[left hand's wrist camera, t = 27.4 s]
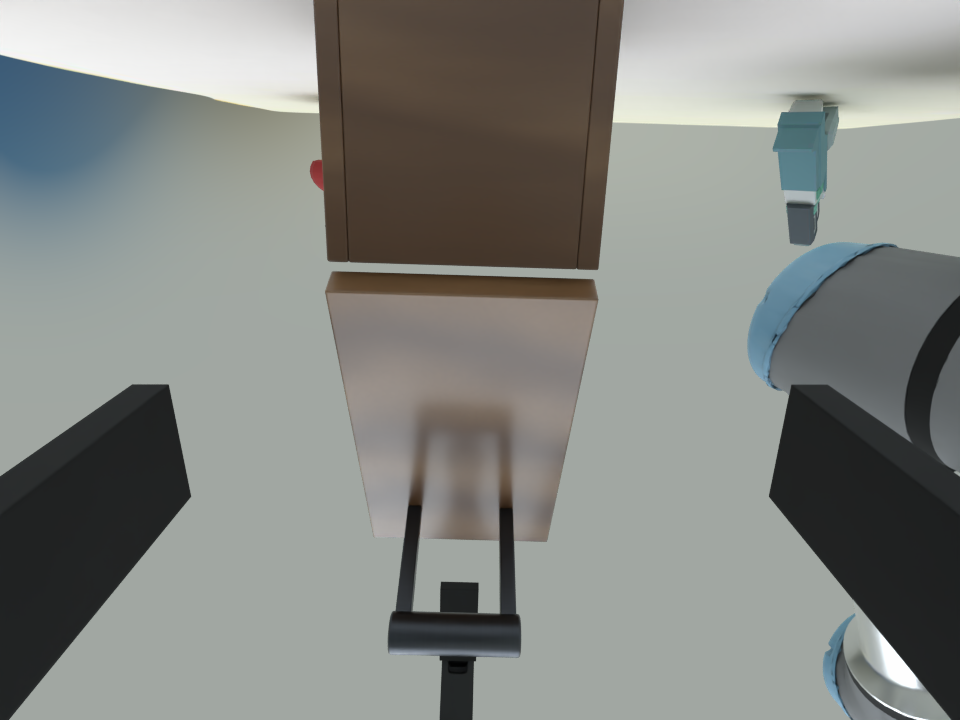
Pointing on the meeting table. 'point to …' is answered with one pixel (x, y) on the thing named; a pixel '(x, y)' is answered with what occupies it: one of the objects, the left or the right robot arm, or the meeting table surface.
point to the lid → (460, 423)
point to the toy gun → (804, 163)
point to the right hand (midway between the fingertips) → (455, 662)
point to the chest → (466, 129)
